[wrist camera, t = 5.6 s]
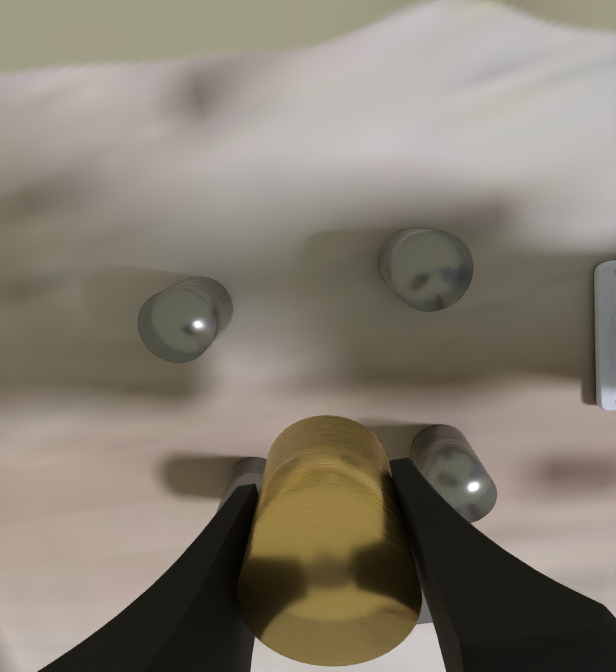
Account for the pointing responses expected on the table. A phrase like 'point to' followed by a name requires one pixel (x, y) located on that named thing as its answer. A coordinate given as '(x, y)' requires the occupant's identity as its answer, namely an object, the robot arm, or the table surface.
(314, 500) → the brass round stock
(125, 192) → the table surface
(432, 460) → the spacer posts
